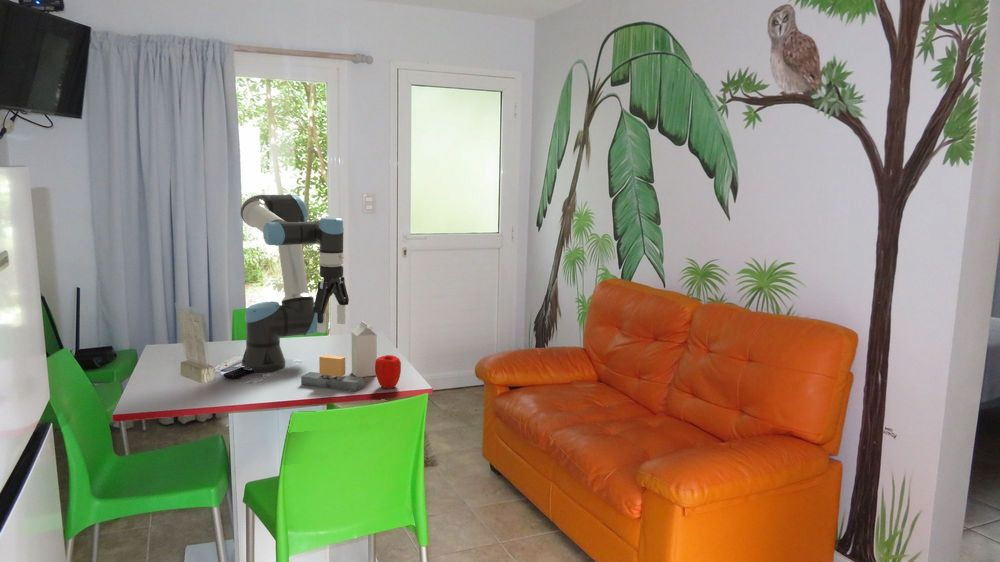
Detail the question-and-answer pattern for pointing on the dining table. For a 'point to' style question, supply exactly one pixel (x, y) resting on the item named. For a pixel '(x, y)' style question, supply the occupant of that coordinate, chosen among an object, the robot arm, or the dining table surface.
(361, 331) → the milk carton
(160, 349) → the dining table surface
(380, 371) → the apple
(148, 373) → the dining table surface
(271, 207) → the robot arm
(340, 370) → the clip
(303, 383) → the grey flat block
